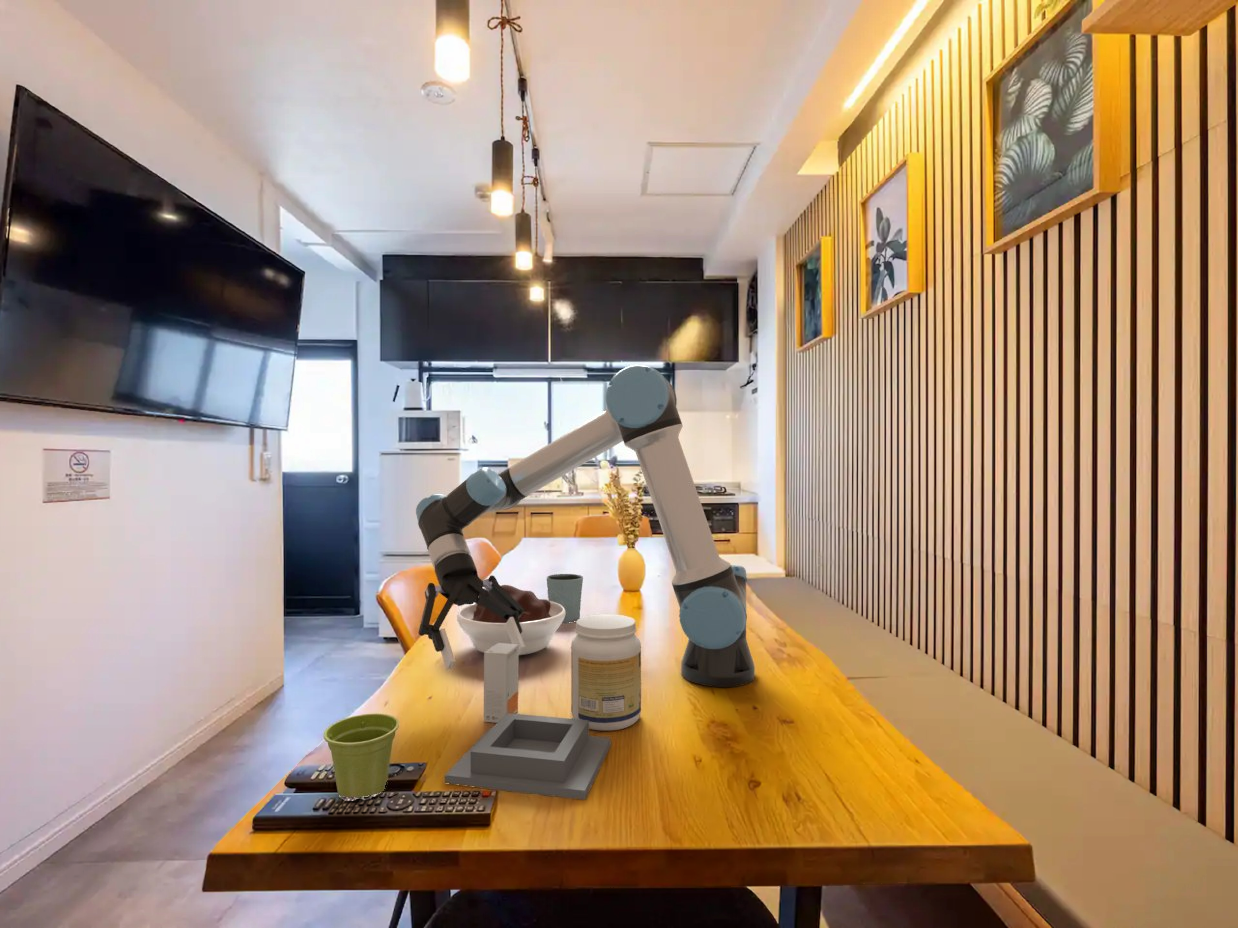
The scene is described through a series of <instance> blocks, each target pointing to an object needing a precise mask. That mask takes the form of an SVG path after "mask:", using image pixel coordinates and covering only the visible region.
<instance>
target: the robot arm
mask: <svg viewBox="0 0 1238 928" xmlns="http://www.w3.org/2000/svg"><path fill="white" fill-rule="evenodd" d="M677 401H678V399H677V395H676V390H675V389H674V386H673V385H672V384H671V383H670V381H669V380H668V379H667V378H666V377H665V376H664V375H663V374H662V373H661V372H660V371H659V370H657V369H656V368H654V367H652V366H649V365H642V364H640V365H639V364H635V365H630V366H626V367H625V368H623V369H621V370H619V371H618V372H617V373H616V374H614V375H613V377H612V378H611V380H610V382H609V383H608V385H607V388H606V391H605V403H606V409H605V410H604V411H602V412H600V413H599V414H597V415H596V416H593V417H592V418H590V419H588V420H587V421H585V422H583V423H582V424H580V425H579V426H577V427H575V428H574V429H572V430H570V431H569V432H567V433H565V434H564V435H562V436H560V437H559V438H557V439H555V440H553V441H552V442H550V443H548V444H546V445H545V446H543V447H541V448H540V449H538V450H537V451H535V452H533V453H532V454H529V455H528V456H527V457H525V458H523V459H522V460H520V461H518V462H516V463H515V464H513V465H511V466H510V467H509V468H507V469H504V470H503V471H501V472H500V473H498V472H496V471H495V470H494V469H492V468H490V467H486V466H485V467H481V468H479V469H478V470H477V471H476V472H474V473H471V474H470V475H469V476H468V477H467V478H466V479H465V480H464V481H463V482H462V483H460V484H459V485H458V486H456V487H455V488H454V489H453V490H452V491H451V492H449V493H448V494H447V495H444V494H441V493H435V494H431V495H430V496H429V497H424V498H422V499H421V500H420V501H419V502H418V504H417V505H416V507H415V514H416V519H417V525H418V528H419V529H420V531H421V535H422V538H423V539H424V542H425V545H426V549H427V552H428V556H429V557H430V558H429V559H430V562H431V564H432V567H433V569H434V574H435V576H436V579H437V582H438V585H435V583H433V582H429V583H428V584H427V587H426V588H425V591H424V596H425V602H424V603H425V604H424V608H423V611H422V616H421V620H420V624H419V628H418V632H417V633H418V635H419V636H425V635H426V636H427V635H428V636H427V638H428V639H429V640H431V641H432V643H433V644H432V645H433V647H434V650H435V651H436V653H438V652H439V653H441V656H442V659H443V663H444V666H445V669H446V671H448V670H452V668H453V666H454V664H455V662H456V658H455V655H454V653H453V650H452V646H451V644H450V640H449V637H448V634H447V630H446V629H445V627H444V628H441V627H442V625H443V623H444V621H445V619H446V618H447V616H448V614H449V612H450V611H451V608H452V606H453V605H456V606H457V607H462V606H464V605H471V604H475V603H476V604H478V605H479V606H481V605H482V606H484V607H485V608H487V609H488V610H490V611H491V612H493V613H494V614H496V615H497V616H499V617H501V618H502V619H504V620H505V621H507V622H506V624H505V627H506V629H507V632H508V635H509V637H510V640H511V642H512V644H518V645H519V654H521V652H522V651H523V649H524V648H525V645H524V642H523V640H522V637H521V635H520V634H521V633H522V628H521V626H520V623H519V621H518V619H519V618H520V617H521V615H522V613H523V612H524V608H523V607H522V606H521V605H520V604H519V603H518V602H517V601H516V600H515V599H514V598H513V597H512V596H510V595H509V594H508V593H507V592H506V591H505V590H504V589H503V588H502V587H501V586H500V585H499V584H498V582H499V581H498V580H497V578H496V576H494V575H493V574H492V575H490V576H489V577H488V578H486V579H481V577H480V576H479V575H478V569H477V567H476V564H475V562H474V558H473V557H472V554H471V551H470V548H469V545H468V543H467V541H466V539H465V536H464V533H463V530H464V529H465V528H467V527H468V526H469V525H470V524H472V523H473V522H474V521H476V520H477V519H479V517H481V516H482V515H483V514H487V513H492V512H497V511H504V510H505V511H507V510H510V509H512V508H513V507H516V506H517V505H518V504H519V503H520V502H521V501H522V500H524V499H525V498H527V497H528V496H530V495H531V494H533V493H535V492H537V491H539V490H541V489H542V488H544V487H545V486H547V485H549V484H551V483H553V482H555V481H556V480H558V479H560V478H561V477H563V476H565V475H566V474H568V473H570V472H572V471H573V470H575V469H577V468H579V467H580V466H582V465H585V464H586V463H587V462H589V461H590V460H592V459H594V458H596V457H598V456H600V455H601V454H603V453H604V452H606V451H608V450H611V448H614V447H615V446H617V445H619V444H620V443H622V442H623V444H624V446H625V447H626V448H629V449H630V450H632V451H634V452H635V455H636V457H637V459H638V463H639V466H640V469H641V472H642V475H643V478H644V481H645V484H646V487H647V489H648V493H649V496H650V498H651V499H650V500H651V501H652V505H653V508H654V510H655V514H656V517H657V519H658V522H659V524H660V528H661V531H662V534H663V537H664V540H665V543H666V546H667V549H668V551H669V554H670V557H671V560H672V563H673V566H674V569H675V573H674V576H673V578H672V580H671V585H672V587H673V591H674V594H675V598H676V601H677V603H678V606H679V615H678V617H679V623H680V627H681V630H682V631H683V633H684V635H685V636H686V637H687V638H688V642H687V644H686V647H685V650H684V654H683V656H682V659H681V665H680V673H681V676H682V677H683V678H684V679H685V680H687V681H690V682H691V683H695V684H697V685H703V686H707V687H715V688H717V687H718V688H732V687H739V686H743V685H747V684H749V683H752V682H753V681H754V679H755V678H756V677H755V676H756V674H755V670H756V669H755V662H754V660H753V656H752V653H751V650H750V647H749V643H748V640H747V618H748V617H747V616H748V615H747V614H748V613H747V582H748V578H747V570H746V568H745V567H744V566H742V565H736V564H731V562H729V561H727V560H725V559H723V558H721V557H720V555H719V552H718V549H717V546H716V543H715V540H714V537H713V534H712V530H711V529H710V525H709V523H708V520H707V517H706V514H705V512H704V508H703V505H702V502H701V499H700V497H699V494H698V491H697V488H696V484H695V483H694V479H693V476H692V473H691V470H690V468H689V464H688V462H687V458H686V456H685V453H684V450H683V448H682V444H681V440H680V439H679V436H680V432H681V431H682V428H683V422H682V420H681V417H680V414H679V411H678V408H677V404H678V402H677ZM484 588H486V590H485V589H484ZM488 591H489V592H490V594H491V595H492V596H491V595H490V594H489V592H488ZM439 594H440V595H441V596H442V597H444V598H446V602H445V603H444V605H443V607H442V609H441V610H440V612H439V614H438V616H437V618H436V619H435V621H434V623H433V624H430V623H431V618H432V614H433V610H434V606H435V600H436V598H437V597H438V596H439ZM479 594H480V595H482V597H481V598H479ZM509 615H510V616H509Z"/></svg>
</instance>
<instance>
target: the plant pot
mask: <svg viewBox="0 0 1238 928" xmlns="http://www.w3.org/2000/svg"><path fill="white" fill-rule="evenodd" d="M399 727H400V720H399V719H398V718H397V717H395V716H394V715H390V714H388V713H375V712H374V713H364V714H360V715H353V716H348V717H346V718H343V719H341V720H338V721H336V722H334V723H332V724H331V725H330V726H328V727H327V728H326V729H325V730H324V732H323V739H324V741H326V742H327V745H328V749H329V750H330V751H331V752H330V753H331V758H332V764H333V770H334V772H333V773H334V776H335V783H336V789H337V796H338V795H340V796H346V797H362V796H368V795H373V794H377V793H380V792H382V791H385V790H386V788H385V785H386V782H387V779H388V780H389V772H390V762H391V758H392V757H391V756H392V750H393V749H392V748H393V743H394V739H395V737H396V731H398V729H399ZM387 783H388V782H387ZM384 789H385V790H384ZM382 793H383V792H382Z"/></svg>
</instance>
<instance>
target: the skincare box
mask: <svg viewBox="0 0 1238 928" xmlns="http://www.w3.org/2000/svg"><path fill="white" fill-rule="evenodd" d="M519 656H520V655H519V645H518V644H506V643H497V644H496V645H494V646H492V647H491V648H490V649H489V650H487V651H486V652H485V653H483V722H485V723H495V724H497V723H498V722H499V721H500V720H501V719H502V718H503V717H504V716H505V715H506V714H507V713H512V714H517V712H518V711H519Z"/></svg>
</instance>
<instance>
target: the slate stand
mask: <svg viewBox="0 0 1238 928" xmlns="http://www.w3.org/2000/svg"><path fill="white" fill-rule="evenodd" d="M589 731H590V729H589V720H581V719H574V718H568V717H557V716H556V717H555V716H545V715H532V714H523V713H522V714H520V713H515V714H512V713H507V714H506V715H505V716H504V717H503V718H502V719H501V720H500V721H499V722H498V723H495V725H494V726H490V727H489V728H488V729H487V730H486V731H485V732H484V733H483V734H482V735H481V737H480V738H479V739H478V740H477V741H476V742H475V743H474V744H473V745H471V747H470V748H469V749H468V750H467V751H466V752H465V753H464V754H463V755H462V756H461V757H460V759H458V761H456V763H455V764H454V765H453V766H452V767H451V768H449V770H448V771H447V772H446V773H445V774H444V784H445V783H449V784H448V785H451V784H459V785H458V786H460V785H467V786H466V787H469V786H474V787H473V788H477V787H482V788H481V789H486V788H488V789H487V790H495V789H498V790H497V791H506V792H515V793H523V794H531V795H541V796H547V797H548V796H549V797H559V798H567V799H576V800H582V801H584V800H586V798H587V797H588V794H589V792H590V791H591V788H592V786H593V783H594V782H595V780H596V778H597V775H598V774H599V771H600V769H601V767H602V764H603V762H604V761H605V759H606V757H607V755H608V753H609V750H610V748H611V745H612V744H611V742H612V740H611V739H612V737H607V736H606V737H605V736H597V735H595V736H594V735H589V733H590V732H589Z"/></svg>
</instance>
